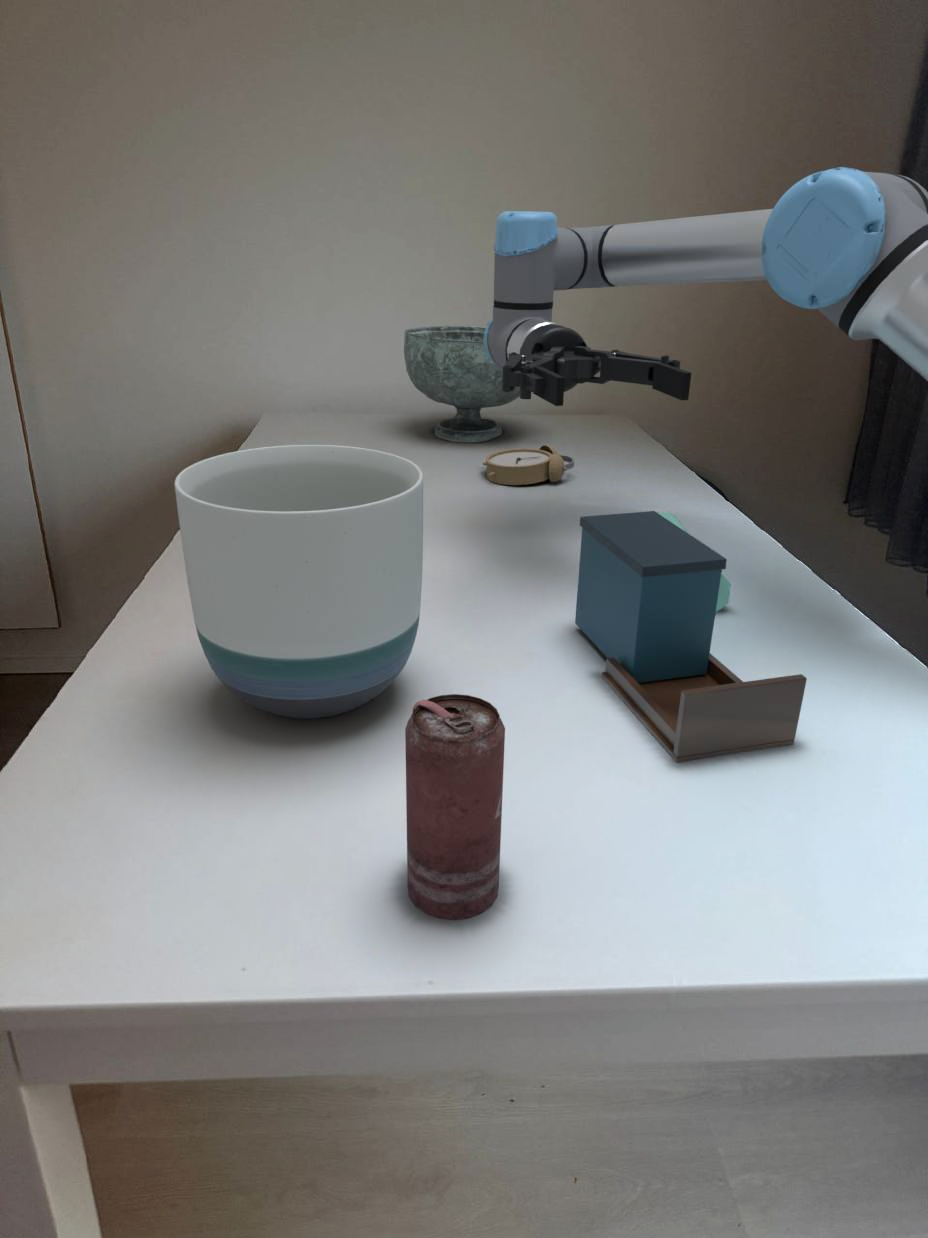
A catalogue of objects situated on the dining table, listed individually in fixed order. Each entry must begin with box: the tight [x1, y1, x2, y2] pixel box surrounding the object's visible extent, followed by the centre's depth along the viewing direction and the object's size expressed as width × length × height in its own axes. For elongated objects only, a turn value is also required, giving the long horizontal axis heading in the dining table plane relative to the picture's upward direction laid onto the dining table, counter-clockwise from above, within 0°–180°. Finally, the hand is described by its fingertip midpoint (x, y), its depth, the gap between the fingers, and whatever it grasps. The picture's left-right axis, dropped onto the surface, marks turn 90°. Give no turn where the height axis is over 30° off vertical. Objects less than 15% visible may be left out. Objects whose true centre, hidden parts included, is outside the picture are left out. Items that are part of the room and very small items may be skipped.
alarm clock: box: [482, 444, 575, 486], centre depth 152 cm, size 11×5×15 cm
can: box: [404, 693, 506, 921], centre depth 58 cm, size 6×6×14 cm
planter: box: [174, 444, 424, 719], centre depth 80 cm, size 20×20×21 cm
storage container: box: [574, 510, 727, 683], centre depth 90 cm, size 14×8×12 cm, turn 16°
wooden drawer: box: [600, 653, 808, 764], centre depth 82 cm, size 15×11×7 cm
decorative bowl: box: [403, 325, 520, 443], centre depth 176 cm, size 26×26×20 cm
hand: (624, 389), depth 89 cm, fingers open, 13 cm apart
